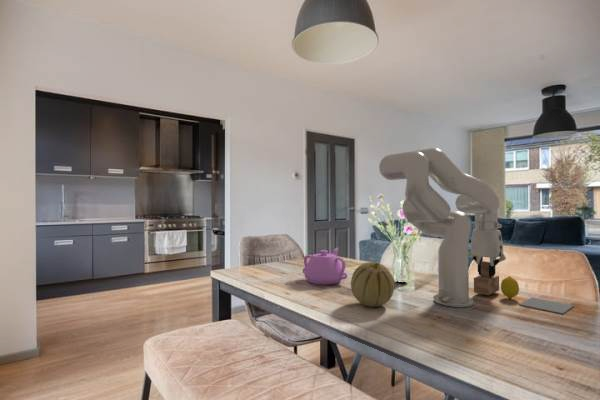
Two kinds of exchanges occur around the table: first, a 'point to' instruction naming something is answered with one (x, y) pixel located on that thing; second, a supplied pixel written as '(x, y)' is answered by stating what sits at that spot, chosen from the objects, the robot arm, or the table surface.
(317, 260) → the teapot
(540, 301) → the slate mat
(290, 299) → the table surface
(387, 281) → the cantaloupe
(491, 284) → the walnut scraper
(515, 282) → the lemon
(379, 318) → the table surface
